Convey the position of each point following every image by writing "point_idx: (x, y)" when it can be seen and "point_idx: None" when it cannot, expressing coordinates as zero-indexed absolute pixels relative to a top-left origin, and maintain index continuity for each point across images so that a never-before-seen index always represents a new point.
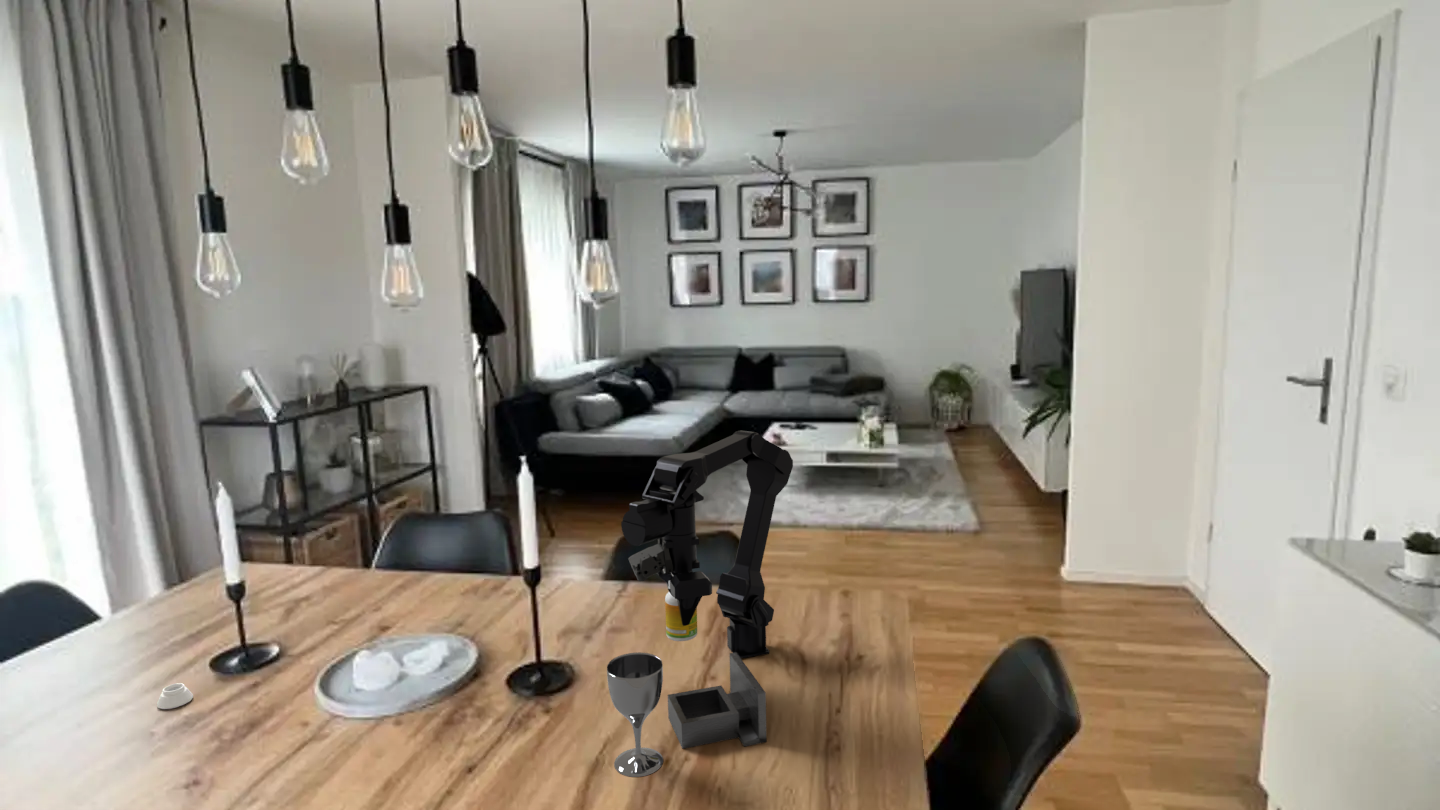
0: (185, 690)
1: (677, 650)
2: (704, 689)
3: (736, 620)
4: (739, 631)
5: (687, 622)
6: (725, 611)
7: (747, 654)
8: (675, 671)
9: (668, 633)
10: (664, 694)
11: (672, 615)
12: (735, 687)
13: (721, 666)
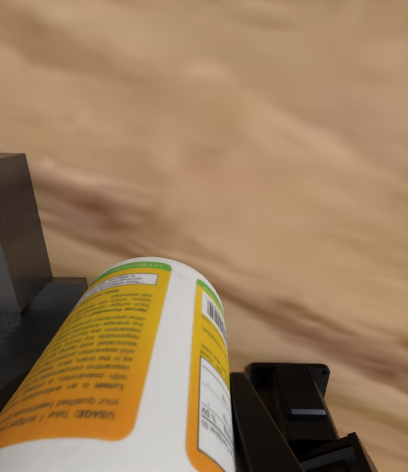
0: None
1: (367, 261)
2: (2, 269)
3: (305, 450)
4: (279, 426)
5: None
6: (328, 464)
7: (252, 385)
8: (257, 228)
9: (119, 270)
10: (147, 172)
11: (29, 373)
12: (28, 334)
13: (236, 326)
